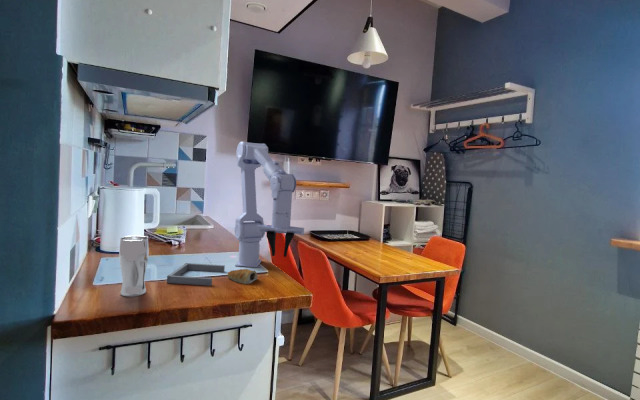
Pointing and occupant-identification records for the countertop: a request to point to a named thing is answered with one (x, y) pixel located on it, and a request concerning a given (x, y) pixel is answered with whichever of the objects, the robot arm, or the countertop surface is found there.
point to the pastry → (242, 276)
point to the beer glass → (133, 264)
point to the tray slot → (179, 279)
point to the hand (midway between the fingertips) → (279, 255)
